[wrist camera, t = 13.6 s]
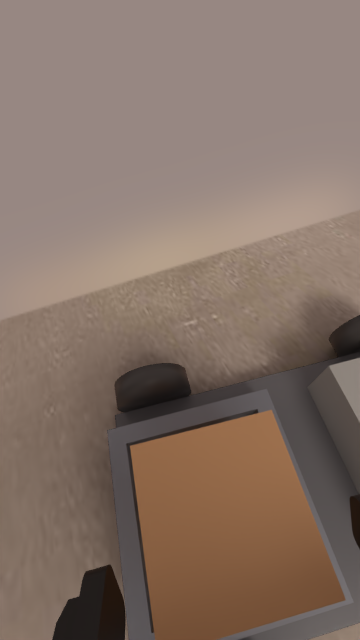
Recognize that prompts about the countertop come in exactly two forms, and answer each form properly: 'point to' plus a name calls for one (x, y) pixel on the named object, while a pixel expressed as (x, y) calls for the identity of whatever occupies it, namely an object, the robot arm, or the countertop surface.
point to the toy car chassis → (303, 447)
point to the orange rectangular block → (227, 531)
